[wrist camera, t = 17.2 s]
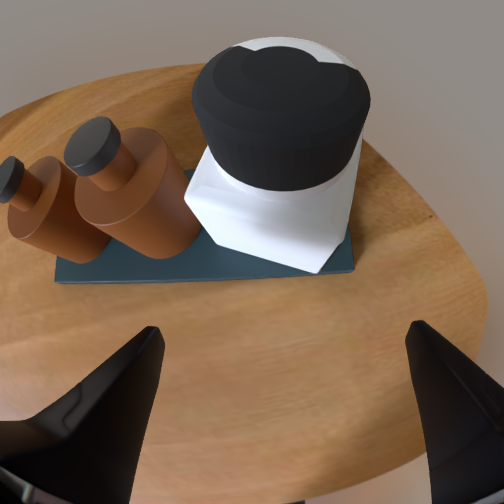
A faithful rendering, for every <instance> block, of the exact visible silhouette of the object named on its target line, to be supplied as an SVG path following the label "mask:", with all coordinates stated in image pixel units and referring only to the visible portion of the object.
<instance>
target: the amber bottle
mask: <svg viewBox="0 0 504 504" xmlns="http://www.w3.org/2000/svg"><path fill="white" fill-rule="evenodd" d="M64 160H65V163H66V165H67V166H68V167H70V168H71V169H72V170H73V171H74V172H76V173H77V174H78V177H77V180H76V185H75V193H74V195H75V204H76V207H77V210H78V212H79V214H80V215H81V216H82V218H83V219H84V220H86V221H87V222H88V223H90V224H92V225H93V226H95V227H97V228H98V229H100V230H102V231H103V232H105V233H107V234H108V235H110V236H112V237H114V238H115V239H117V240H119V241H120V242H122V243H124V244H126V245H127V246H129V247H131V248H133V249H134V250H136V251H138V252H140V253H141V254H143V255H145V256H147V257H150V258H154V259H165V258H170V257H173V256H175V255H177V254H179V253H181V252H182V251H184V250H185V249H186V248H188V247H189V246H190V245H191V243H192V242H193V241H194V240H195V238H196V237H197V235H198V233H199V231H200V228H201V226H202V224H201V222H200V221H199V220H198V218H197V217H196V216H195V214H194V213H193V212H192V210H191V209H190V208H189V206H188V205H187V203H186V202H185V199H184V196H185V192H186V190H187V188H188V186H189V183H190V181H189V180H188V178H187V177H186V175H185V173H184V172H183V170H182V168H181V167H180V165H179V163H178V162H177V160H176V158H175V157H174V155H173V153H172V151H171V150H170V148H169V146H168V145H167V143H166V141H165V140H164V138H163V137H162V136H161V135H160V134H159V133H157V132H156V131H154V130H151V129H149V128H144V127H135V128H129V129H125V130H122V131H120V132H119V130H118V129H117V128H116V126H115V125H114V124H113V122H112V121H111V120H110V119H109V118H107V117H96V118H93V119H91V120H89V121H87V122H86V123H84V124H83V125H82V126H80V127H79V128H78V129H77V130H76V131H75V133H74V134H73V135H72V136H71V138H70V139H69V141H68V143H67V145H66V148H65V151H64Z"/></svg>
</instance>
